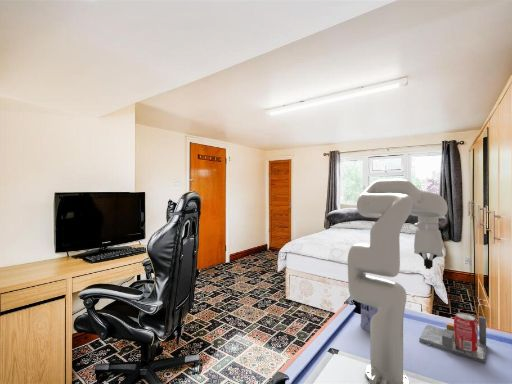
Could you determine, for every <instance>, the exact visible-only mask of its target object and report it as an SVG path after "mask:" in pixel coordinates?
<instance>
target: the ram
mask: <svg viewBox="0 0 512 384" xmlns="http://www.w3.org/2000/svg"><path fill="white" fill-rule="evenodd" d="M453 342H454V323H450V322H447V323H446V328H444V332H443V335H442V345H445V346H448V347H451V348H452V346H453Z"/></svg>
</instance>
